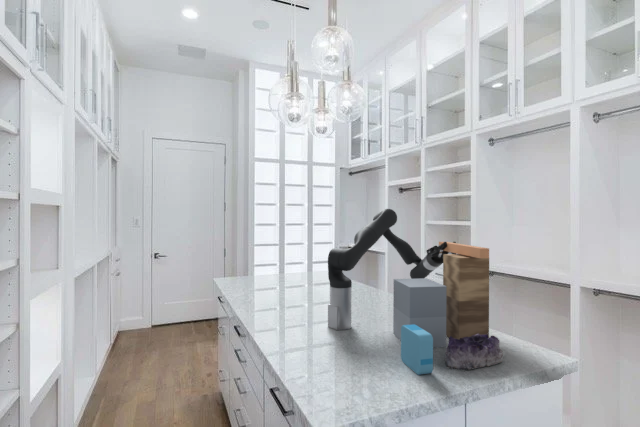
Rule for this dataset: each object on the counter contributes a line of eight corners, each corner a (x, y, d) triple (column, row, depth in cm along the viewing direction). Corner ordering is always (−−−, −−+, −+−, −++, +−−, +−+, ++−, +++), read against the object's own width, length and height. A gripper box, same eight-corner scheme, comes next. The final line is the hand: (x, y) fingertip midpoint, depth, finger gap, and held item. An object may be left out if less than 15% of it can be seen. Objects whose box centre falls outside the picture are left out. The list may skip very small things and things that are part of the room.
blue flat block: (433, 375, 105) (433, 335, 105) (419, 376, 104) (419, 336, 104) (412, 359, 117) (413, 322, 117) (400, 360, 115) (400, 323, 115)
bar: (489, 258, 125) (489, 248, 125) (480, 258, 124) (480, 248, 124) (446, 249, 155) (446, 241, 155) (438, 249, 154) (438, 241, 154)
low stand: (446, 347, 127) (446, 286, 127) (409, 349, 125) (409, 287, 125) (426, 332, 143) (426, 278, 143) (393, 333, 141) (393, 279, 141)
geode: (466, 378, 104) (461, 343, 105) (437, 367, 114) (433, 336, 115) (511, 362, 113) (506, 330, 114) (481, 354, 123) (477, 325, 124)
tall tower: (488, 342, 132) (489, 257, 132) (459, 344, 130) (459, 258, 130) (470, 332, 143) (470, 253, 143) (442, 333, 142) (443, 254, 142)
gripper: (417, 252, 163) (433, 235, 148) (446, 252, 165) (464, 235, 150) (421, 267, 159) (437, 252, 144) (450, 267, 161) (468, 251, 147)
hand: (450, 243), depth 147 cm, fingers closed on bar, 3 cm apart
